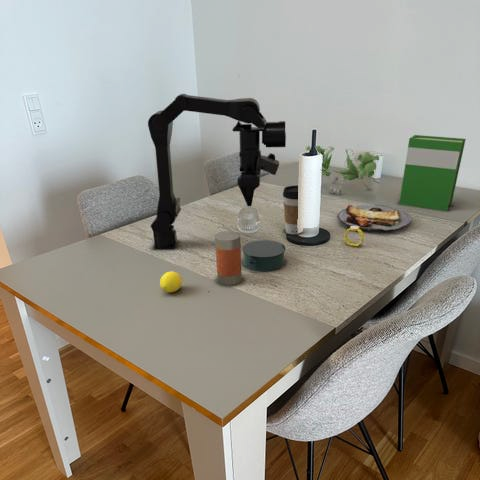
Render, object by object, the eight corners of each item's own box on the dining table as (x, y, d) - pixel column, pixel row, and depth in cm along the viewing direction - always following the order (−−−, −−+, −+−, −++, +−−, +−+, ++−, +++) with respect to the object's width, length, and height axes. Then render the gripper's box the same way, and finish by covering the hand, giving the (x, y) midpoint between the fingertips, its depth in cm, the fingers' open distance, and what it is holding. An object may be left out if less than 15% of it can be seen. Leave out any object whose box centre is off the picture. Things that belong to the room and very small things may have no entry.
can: (216, 285, 126) (213, 240, 119) (218, 274, 132) (216, 230, 125) (240, 285, 125) (239, 240, 119) (242, 274, 131) (241, 230, 124)
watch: (363, 245, 146) (366, 227, 143) (360, 248, 144) (362, 230, 141) (345, 242, 149) (347, 224, 146) (342, 244, 147) (344, 226, 144)
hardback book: (451, 205, 177) (465, 138, 164) (447, 210, 172) (461, 142, 159) (404, 198, 185) (414, 134, 173) (399, 203, 180) (409, 138, 167)
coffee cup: (305, 236, 154) (308, 191, 146) (280, 235, 155) (281, 190, 148) (307, 227, 161) (310, 184, 153) (283, 226, 162) (284, 183, 155)
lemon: (172, 298, 120) (170, 280, 117) (155, 294, 123) (153, 275, 120) (188, 287, 125) (186, 269, 122) (172, 283, 128) (170, 265, 125)
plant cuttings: (310, 197, 212) (288, 176, 194) (324, 162, 211) (303, 137, 193) (381, 212, 192) (364, 190, 174) (397, 173, 192) (382, 147, 173)
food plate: (330, 229, 159) (331, 219, 157) (344, 208, 177) (345, 199, 175) (407, 238, 151) (408, 227, 149) (413, 215, 169) (414, 205, 167)
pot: (232, 269, 134) (231, 255, 132) (255, 248, 146) (255, 235, 144) (272, 277, 129) (273, 262, 127) (293, 255, 142) (293, 241, 139)
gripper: (278, 154, 124) (277, 211, 133) (277, 140, 140) (276, 192, 148) (236, 154, 125) (238, 211, 133) (240, 141, 141) (241, 192, 149)
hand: (250, 201), depth 141 cm, fingers open, 9 cm apart
